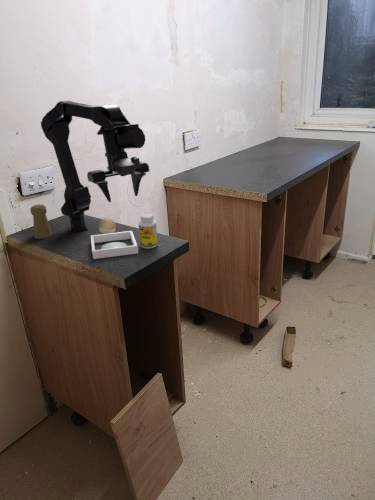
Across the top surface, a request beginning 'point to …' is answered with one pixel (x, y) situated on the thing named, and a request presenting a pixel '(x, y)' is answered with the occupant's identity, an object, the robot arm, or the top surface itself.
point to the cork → (40, 222)
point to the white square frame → (113, 245)
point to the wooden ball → (107, 226)
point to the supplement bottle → (148, 231)
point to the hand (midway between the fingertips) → (123, 198)
